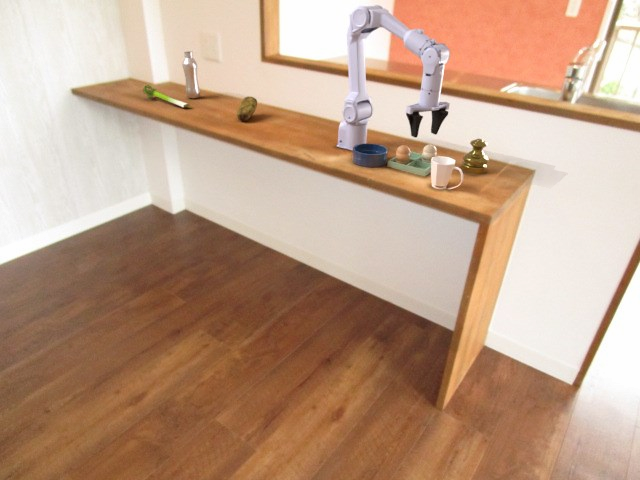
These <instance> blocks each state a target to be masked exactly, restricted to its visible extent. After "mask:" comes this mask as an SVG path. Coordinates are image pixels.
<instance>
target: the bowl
mask: <svg viewBox="0 0 640 480" xmlns="http://www.w3.org/2000/svg"><path fill="white" fill-rule="evenodd" d="M351 153H352V154H351V161H352V163H354V164H355V165H357V166H360V167H366V168H379V167H383V166H385V165H386V164H388V157H389V156H388V155H389V149H388V147H386V146H385V145H381V144H378V143H369V142H366V143H363V144H357V145H355V146H354V147H353V150H352V152H351Z"/></svg>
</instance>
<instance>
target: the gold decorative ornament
mask: <svg viewBox="0 0 640 480" xmlns="http://www.w3.org/2000/svg"><path fill="white" fill-rule="evenodd" d="M469 144H470V145H471V147H472V150H470V151H469V152H466V153H465V154H464V155H463V156H462V160H463V161H462V162H461V168H460V169H461V170H462V172H465V173H467V174H471V175H483V174H485V173H486V170H487V167H488V165H487V163H488V162H489V158H488V156H487V155H485V153H484V151H483V149H485V148H486V147H487V146H488V142H486V141H485V140H483V139H482V138H476V139H473V140H470V143H469Z"/></svg>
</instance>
